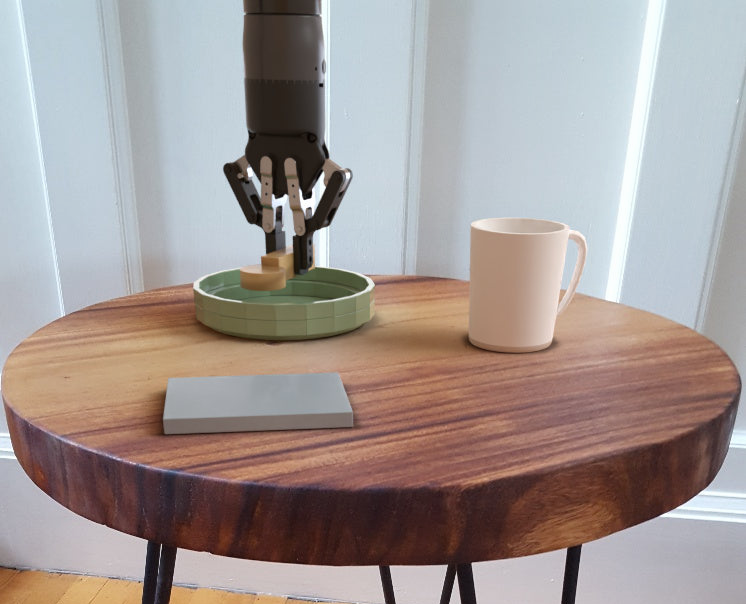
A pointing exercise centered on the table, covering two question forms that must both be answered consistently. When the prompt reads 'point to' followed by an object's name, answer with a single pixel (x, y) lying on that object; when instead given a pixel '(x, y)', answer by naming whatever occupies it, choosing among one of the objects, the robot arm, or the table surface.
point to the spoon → (271, 271)
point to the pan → (286, 305)
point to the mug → (519, 281)
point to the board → (256, 403)
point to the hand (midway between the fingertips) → (290, 271)
